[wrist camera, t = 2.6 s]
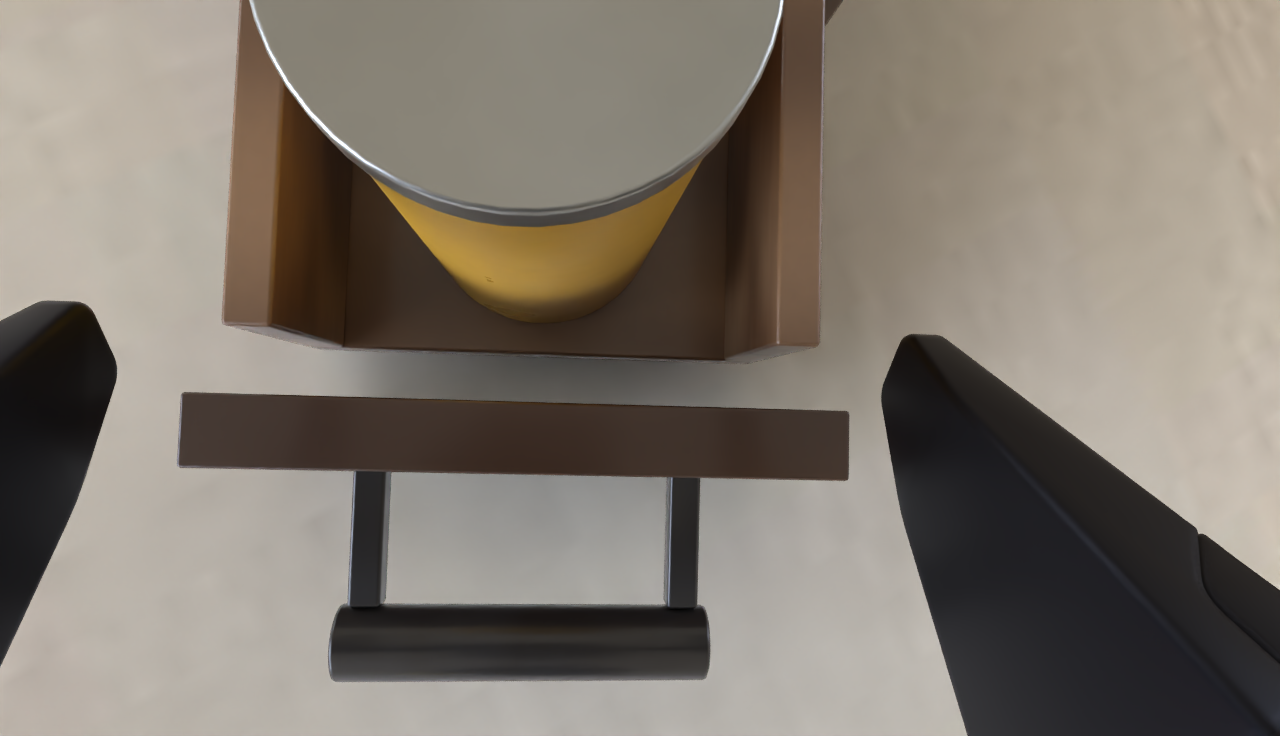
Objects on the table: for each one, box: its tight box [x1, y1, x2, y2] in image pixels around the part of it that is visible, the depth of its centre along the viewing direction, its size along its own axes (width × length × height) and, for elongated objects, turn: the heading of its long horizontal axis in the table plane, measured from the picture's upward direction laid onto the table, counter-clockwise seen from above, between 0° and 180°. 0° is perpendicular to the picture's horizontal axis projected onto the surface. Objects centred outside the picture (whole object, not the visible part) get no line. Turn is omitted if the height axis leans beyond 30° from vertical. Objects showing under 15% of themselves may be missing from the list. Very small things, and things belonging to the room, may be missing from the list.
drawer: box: [177, 0, 849, 682], centre depth 16 cm, size 16×11×6 cm
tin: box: [249, 0, 784, 323], centre depth 13 cm, size 5×5×10 cm
